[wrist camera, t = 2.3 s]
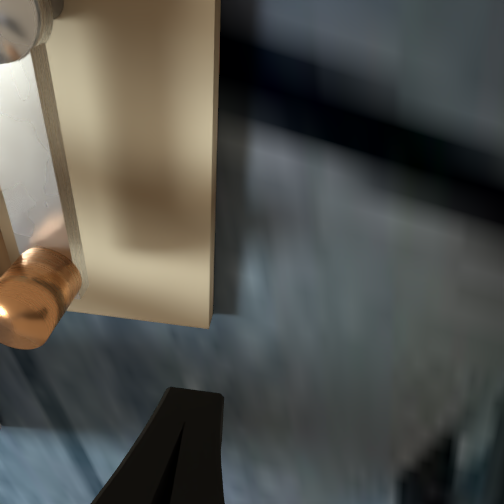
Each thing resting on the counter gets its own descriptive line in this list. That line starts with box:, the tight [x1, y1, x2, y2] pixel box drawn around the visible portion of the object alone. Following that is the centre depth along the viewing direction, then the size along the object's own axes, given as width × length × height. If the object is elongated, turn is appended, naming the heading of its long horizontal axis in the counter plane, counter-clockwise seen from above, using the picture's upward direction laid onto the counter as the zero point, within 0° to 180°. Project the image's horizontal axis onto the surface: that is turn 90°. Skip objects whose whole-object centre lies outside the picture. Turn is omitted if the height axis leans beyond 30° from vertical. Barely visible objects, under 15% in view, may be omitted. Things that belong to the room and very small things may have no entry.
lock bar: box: [0, 0, 89, 349], centre depth 12 cm, size 10×2×3 cm, turn 176°
